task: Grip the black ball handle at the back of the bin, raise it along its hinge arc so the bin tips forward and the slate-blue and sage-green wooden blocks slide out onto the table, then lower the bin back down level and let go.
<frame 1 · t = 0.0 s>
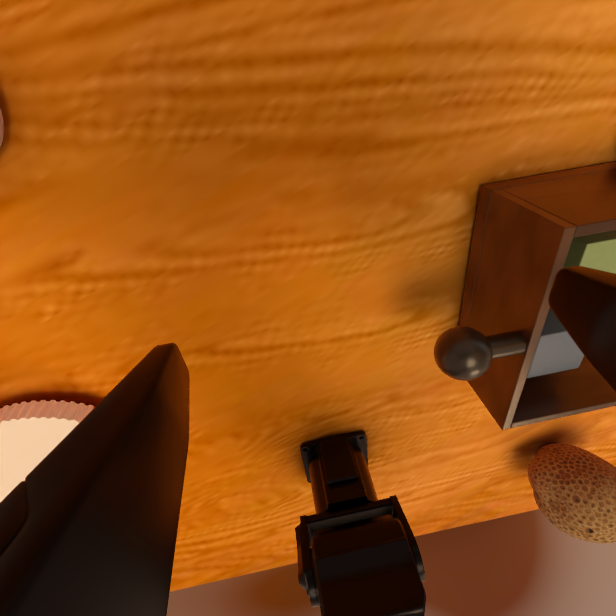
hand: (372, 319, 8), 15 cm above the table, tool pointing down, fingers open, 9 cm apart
plastic lid: (72, 445, 30), on the table
bin: (532, 311, 24), point 4 cm above the table, hinge at 0.0°, touching sage block, slate block
slate block: (523, 319, 28), point 1 cm above the table, touching bin
natural sponge: (544, 447, 43), on the table
sage block: (558, 241, 24), point 1 cm above the table, touching bin
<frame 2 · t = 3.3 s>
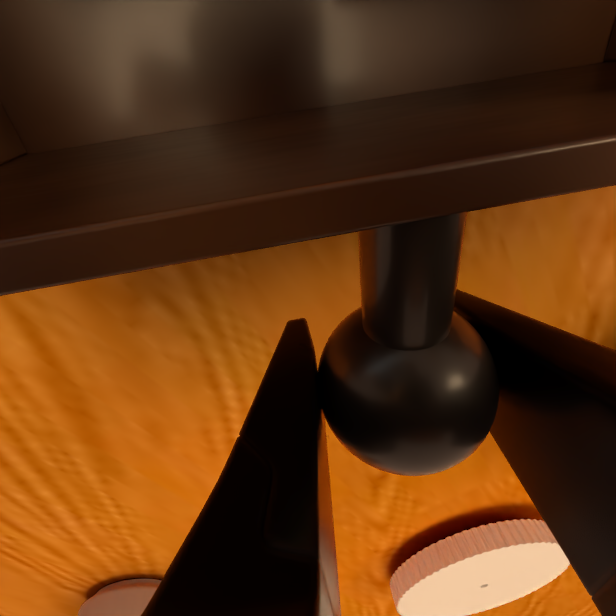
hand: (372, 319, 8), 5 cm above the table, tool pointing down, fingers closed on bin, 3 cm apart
plastic lid: (466, 547, 30), on the table
beverage can: (135, 590, 25), on the table
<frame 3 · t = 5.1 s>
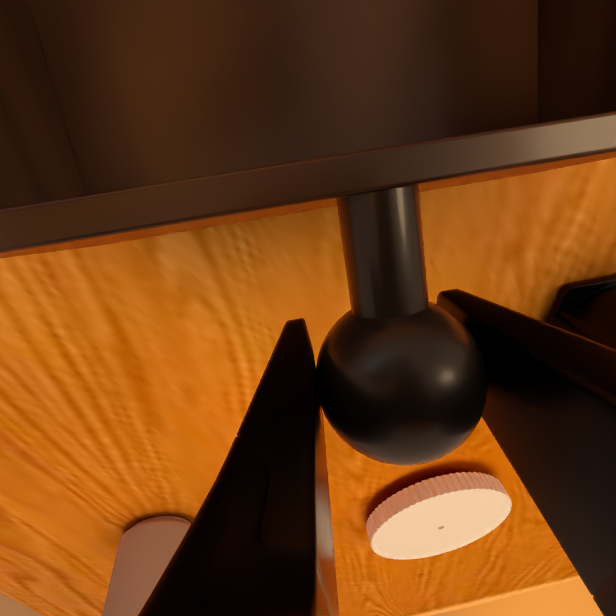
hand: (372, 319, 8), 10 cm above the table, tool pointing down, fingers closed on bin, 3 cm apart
plastic lid: (429, 499, 37), on the table
bin: (331, 82, 8), point 7 cm above the table, hinge at 22.6°, touching gripper
beverage can: (162, 527, 32), on the table
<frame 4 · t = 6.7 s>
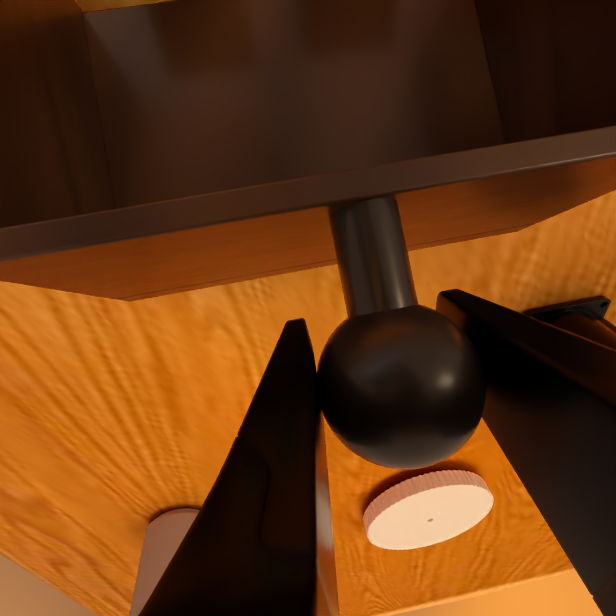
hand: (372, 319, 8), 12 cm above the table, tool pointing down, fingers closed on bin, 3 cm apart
plastic lid: (420, 494, 41), on the table
bin: (327, 149, 10), point 8 cm above the table, hinge at 38.9°, touching gripper
beverage can: (182, 518, 36), on the table
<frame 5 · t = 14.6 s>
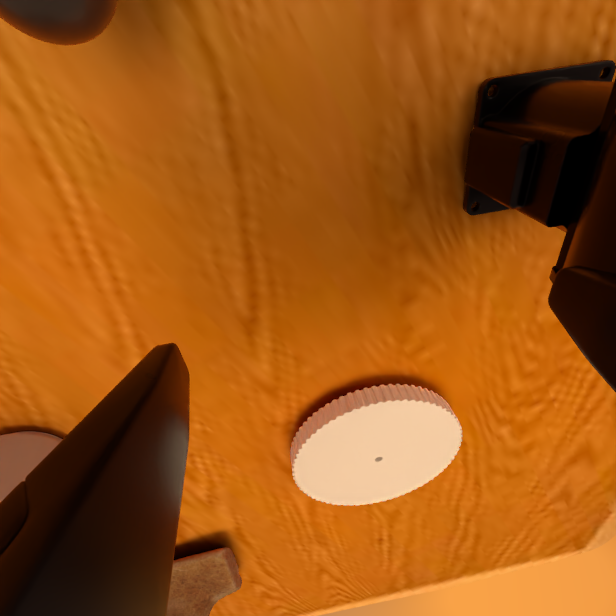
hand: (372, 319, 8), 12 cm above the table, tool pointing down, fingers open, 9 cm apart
plastic lid: (368, 430, 31), on the table
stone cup: (182, 568, 40), on the table
beverage can: (36, 450, 26), on the table
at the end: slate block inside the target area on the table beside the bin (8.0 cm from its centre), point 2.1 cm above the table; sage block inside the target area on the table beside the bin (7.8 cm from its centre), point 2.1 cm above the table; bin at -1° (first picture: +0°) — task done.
